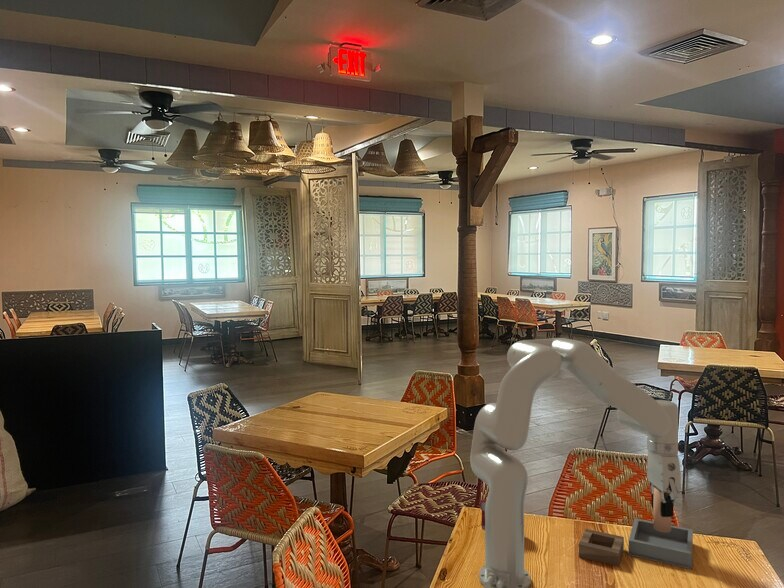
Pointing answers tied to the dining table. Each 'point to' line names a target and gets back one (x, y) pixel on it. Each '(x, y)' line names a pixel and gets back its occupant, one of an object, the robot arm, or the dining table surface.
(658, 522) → the dowel
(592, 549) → the collar block
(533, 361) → the robot arm
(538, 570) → the dining table surface
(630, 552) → the tray
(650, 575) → the dining table surface
